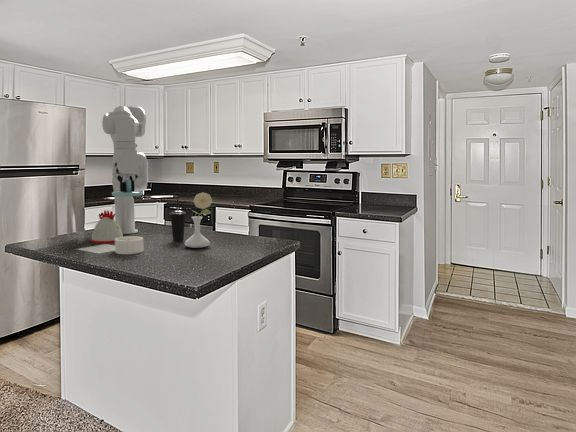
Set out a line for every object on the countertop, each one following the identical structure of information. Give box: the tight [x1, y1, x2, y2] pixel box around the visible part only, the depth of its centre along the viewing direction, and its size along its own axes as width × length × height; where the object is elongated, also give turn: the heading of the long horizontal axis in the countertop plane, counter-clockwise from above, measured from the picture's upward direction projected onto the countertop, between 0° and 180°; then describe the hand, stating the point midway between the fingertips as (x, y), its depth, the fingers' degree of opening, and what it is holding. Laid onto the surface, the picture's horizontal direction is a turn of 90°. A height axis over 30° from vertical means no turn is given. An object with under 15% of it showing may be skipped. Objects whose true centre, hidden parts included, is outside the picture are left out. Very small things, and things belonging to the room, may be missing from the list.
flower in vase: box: [184, 191, 213, 249], centre depth 190 cm, size 13×11×25 cm
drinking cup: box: [169, 199, 187, 242], centre depth 205 cm, size 8×8×20 cm
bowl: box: [114, 235, 145, 256], centre depth 178 cm, size 11×11×6 cm
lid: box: [111, 180, 144, 197], centre depth 175 cm, size 12×12×6 cm
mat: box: [76, 243, 115, 255], centre depth 183 cm, size 15×14×1 cm
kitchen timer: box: [91, 209, 124, 244], centre depth 201 cm, size 14×14×15 cm
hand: (127, 191), depth 175 cm, fingers closed on lid, 3 cm apart
